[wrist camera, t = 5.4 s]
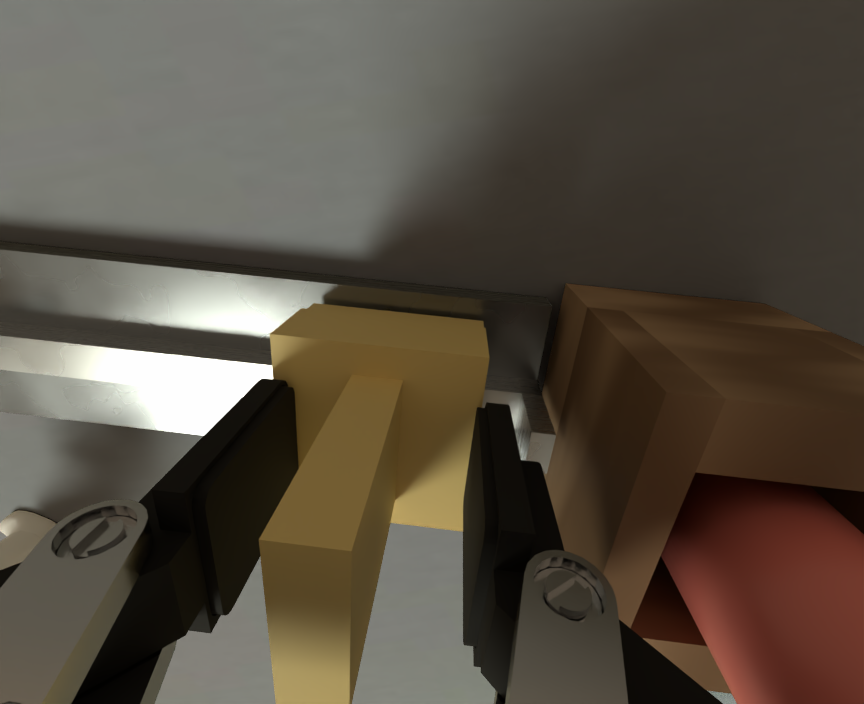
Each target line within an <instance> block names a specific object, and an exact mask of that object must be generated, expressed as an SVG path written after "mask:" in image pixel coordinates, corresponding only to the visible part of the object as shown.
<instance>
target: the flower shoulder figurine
mask: <svg viewBox="0 0 864 704" xmlns="http://www.w3.org/2000/svg"><path fill="white" fill-rule="evenodd" d="M56 524H57V523H55V522H53V521H52V520H50V519H47V518H45V517H42V516H40V515H37V514H35V513H32V512H28V511H19V510H18V511H14V512H13V513H11V514H10V515H8V516H7V517H6V518H5V519H3V521H2V522H1V523H0V531H1V532H2V533H3V534H5V535H6V536H7V537H6V538H5V539H3V540H2V541H1V542H0V570H2V569H5V568H7V567H10V566H13V565H15V564H18V563H21V562H23V560H24V559H25V558H26V557H27V556H28V555H29V553H30V552H31V551H32V550H33V549H34V547H35V546H36V545H37V544H38V543H39V541H40V540H41V539H42V538H43V537H44V536H45V534H46V533H47V532H48V531H49V530H50V529H51V528H53V527H54V526H55V525H56Z"/></svg>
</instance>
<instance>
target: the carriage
mask: <svg viewBox="0 0 864 704" xmlns="http://www.w3.org/2000/svg"><path fill="white" fill-rule="evenodd" d="M270 344H271V358H272V372H273V379H275V380H285V381H286V382H287V384H288V387H293V388H294V392H295V408H296V427H297V447H298V466H299V469H298V471H297V473H296V475H295V476H294V478H293V480H292V482H291V483H290V485H289V487H288V489H287V490H286V492H285V494H284V496H283V498H282V499H281V501H280V503H279V505H278V506H277V508H276V510H275V512H274V513H273V515H272V517H271V519H270V521H269V522H268V524H267V526H266V528H265V529H264V531H263V533H262V535H261V536H260V538H259V547H260V556H261V566H262V576H263V585H264V595H265V604H266V614H267V623H268V633H269V642H270V652H271V661H272V671H273V680H274V690H275V699H276V704H352V699H353V694H354V690H355V685H356V680H357V676H358V671H359V666H360V662H361V657H362V652H363V648H364V643H365V638H366V634H367V629H368V624H369V620H370V615H371V610H372V606H373V601H374V597H375V592H376V587H377V583H378V578H379V573H380V569H381V564H382V559H383V555H384V550H385V545H386V541H387V536H388V531H389V527H390V523H397V524H406V525H414V526H422V527H430V528H438V529H447V530H455V531H463V500H464V491H465V484H466V477H467V471H468V464H469V457H470V450H471V443H472V437H473V430H474V423H475V416H476V410H477V407H481V408H482V404H483V397H484V391H485V384H486V378H487V371H488V365H489V358H490V357H489V350H488V342H487V335H486V328H484V323H483V321H479V320H470V319H460V318H451V317H441V316H432V315H422V314H413V313H403V312H394V311H384V310H375V309H365V308H356V307H346V306H337V305H327V304H318V303H313V304H312V305H311V306H310V307H309V308H307V309H305V308H301V309H300V310H299V311H297V312H296V313H295V314H294V315H292V316H291V317H290V318H289V319H288V320H286V321H285V322H284V323H283V324H281V325H280V326H279V327H278V328H276V329H275V330H274V331H273V332H272V333H270Z"/></svg>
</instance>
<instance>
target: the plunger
mask: <svg viewBox="0 0 864 704" xmlns="http://www.w3.org/2000/svg"><path fill="white" fill-rule="evenodd" d="M661 557H662V559H663V561H664V563H665V565H666V566H667V568H668V570H669V572H670V574H671V576H672V578H673V580H674V582H675V584H676V586H677V588H678V590H679V592H680V594H681V596H682V598H683V600H684V601H685V603H686V605H687V607H688V609H689V611H690V613H691V615H692V617H693V619H694V621H695V623H696V625H697V627H698V629H699V631H700V633H701V635H702V636H703V638H704V640H705V642H706V644H707V646H708V648H709V650H710V652H711V654H712V656H713V658H714V660H715V662H716V664H717V666H718V668H719V669H720V671H721V673H722V675H723V677H724V679H725V681H726V683H727V685H728V687H729V689H730V691H731V693H732V695H733V697H734V699H735V701H736V703H737V704H864V534H863V533H862V532H860V531H859V530H858V529H857V528H856V527H855V526H854V525H853V524H852V523H851V522H849V521H848V520H847V519H846V518H845V517H844V516H843V515H842V514H841V513H839V512H838V511H837V510H836V509H835V508H834V507H833V506H832V505H831V504H829V503H828V502H827V501H826V500H825V499H824V498H823V497H822V496H821V495H819V494H818V493H817V492H816V491H815V490H814V489H813V488H812V487H811V486H809V485H801V484H792V483H784V482H775V481H766V480H758V479H749V478H740V477H732V476H723V475H714V474H706V473H697V472H695V475H694V477H693V479H692V482H691V484H690V487H689V489H688V491H687V494H686V496H685V499H684V501H683V503H682V506H681V508H680V511H679V513H678V515H677V518H676V520H675V523H674V525H673V527H672V530H671V532H670V534H669V537H668V539H667V542H666V544H665V546H664V549H663V551H662V554H661Z"/></svg>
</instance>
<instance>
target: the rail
mask: <svg viewBox="0 0 864 704" xmlns="http://www.w3.org/2000/svg"><path fill="white" fill-rule="evenodd" d="M313 303H318V304H327V305H337V306H346V307H356V308H365V309H375V310H384V311H394V312H403V313H413V314H422V315H432V316H441V317H451V318H460V319H470V320H479V321H483V323H484V328H486V335H487V342H488V350H489V357H490V358H489V365H488V371H487V378H486V384H485V391H484V397H483V404H482V408H485V405H486V402H489V403H498V404H507V405H509V406H510V410H511V415H512V420H513V425H514V430H515V435H516V440H517V445H518V450H519V454H520V459H521V460H526V461H535V462H539V463H540V464H541V466H542V469H543V473H544V474H547V471H548V467H549V463H550V458H551V454H552V450H553V446H554V442H555V438H556V433H555V430H554V427H553V424H552V422H551V419H550V416H549V413H548V410H547V407H546V404H545V402H544V399H543V396H542V393H541V390H540V387H539V385H538V382H537V378H538V373H539V368H540V363H541V359H542V354H543V349H544V344H545V339H546V335H547V330H548V325H549V320H550V315H551V311H552V306H551V304H550V303H549V301H548V300H547V298H546V297H537V296H527V295H517V294H507V293H498V292H488V291H478V290H469V289H459V288H449V287H439V286H430V285H420V284H410V283H401V282H391V281H381V280H371V279H362V278H352V277H342V276H333V275H323V274H313V273H303V272H294V271H284V270H274V269H265V268H255V267H245V266H236V265H226V264H216V263H206V262H197V261H187V260H177V259H168V258H158V257H148V256H138V255H129V254H119V253H109V252H100V251H90V250H80V249H70V248H61V247H51V246H41V245H32V244H22V243H12V242H2V241H0V412H6V413H14V414H23V415H32V416H40V417H49V418H57V419H66V420H74V421H83V422H91V423H100V424H108V425H117V426H126V427H134V428H143V429H151V430H160V431H168V432H177V433H185V434H194V435H202V436H204V435H205V434H206V433H207V432H208V431H209V430H210V429H211V428H212V427H213V426H214V425H215V424H216V423H217V422H218V421H219V420H220V419H221V418H222V417H223V416H224V415H225V414H226V413H227V412H228V411H229V410H230V409H231V408H232V407H233V406H234V405H235V404H236V403H237V402H238V401H239V400H240V399H241V398H242V397H243V396H244V395H245V394H246V393H247V392H248V391H249V390H250V389H251V388H252V387H253V386H254V385H255V384H256V383H257V382H258V381H259V380H260V379H261V378H266V379H273V372H272V358H271V344H270V333H272V332H273V331H274V330H275V329H276V328H278V327H279V326H280V325H281V324H283V323H284V322H285V321H286V320H288V319H289V318H290V317H291V316H292V315H294V314H295V313H296V312H297V311H299V310H300V309H301V308H305V309H307V308H309V307H310V306H311V305H312V304H313Z"/></svg>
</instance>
